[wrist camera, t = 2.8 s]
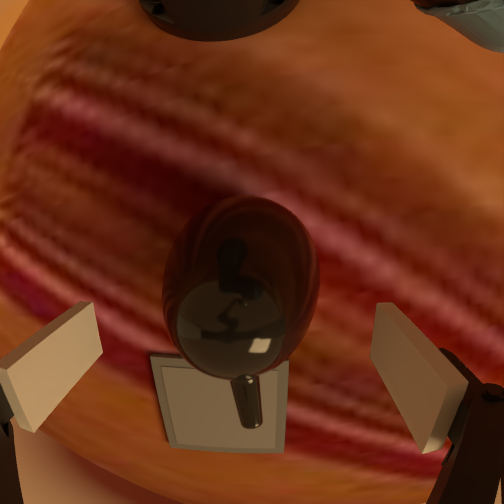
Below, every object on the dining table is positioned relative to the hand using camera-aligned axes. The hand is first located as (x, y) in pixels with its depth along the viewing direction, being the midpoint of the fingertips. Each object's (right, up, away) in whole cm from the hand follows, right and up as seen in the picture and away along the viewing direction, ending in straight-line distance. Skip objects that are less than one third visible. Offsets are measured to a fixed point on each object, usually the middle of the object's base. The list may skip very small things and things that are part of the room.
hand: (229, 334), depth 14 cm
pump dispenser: (+1, +3, +13) cm, 13 cm away
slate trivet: (-2, -12, +16) cm, 21 cm away
